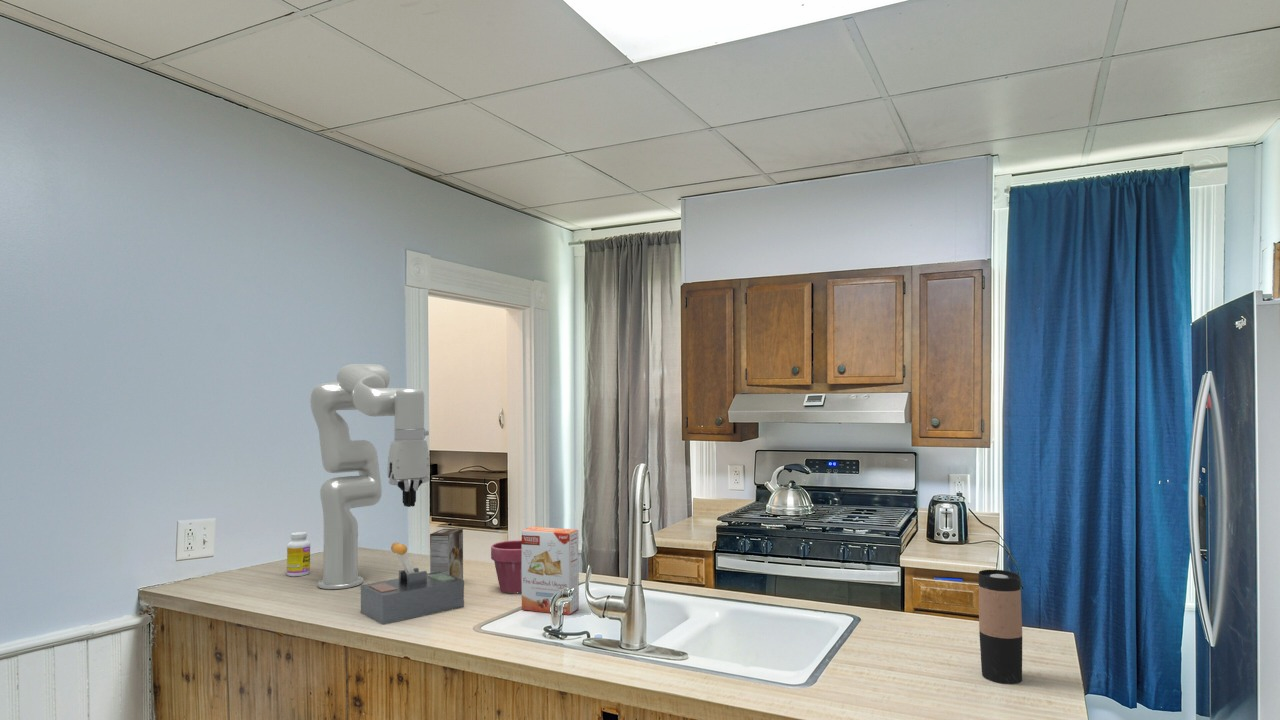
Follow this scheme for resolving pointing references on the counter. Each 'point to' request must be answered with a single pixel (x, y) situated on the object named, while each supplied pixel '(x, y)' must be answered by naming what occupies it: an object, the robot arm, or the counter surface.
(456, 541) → the coffee box
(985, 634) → the travel mug
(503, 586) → the plant pot
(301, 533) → the supplement bottle
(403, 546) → the breaker lever
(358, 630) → the counter surface
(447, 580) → the breaker box
